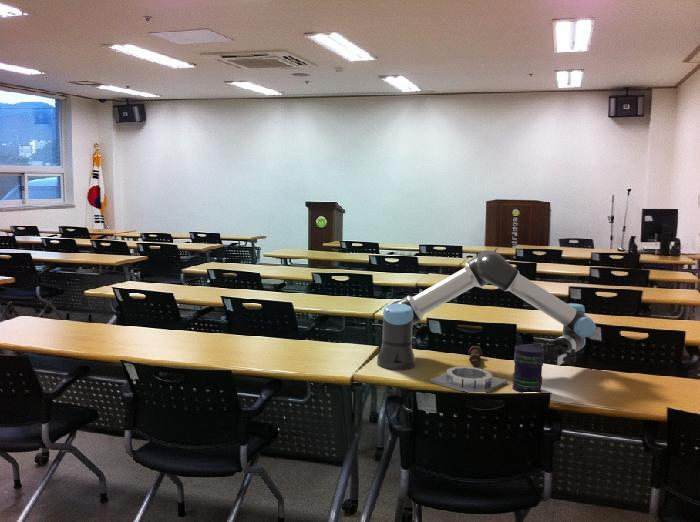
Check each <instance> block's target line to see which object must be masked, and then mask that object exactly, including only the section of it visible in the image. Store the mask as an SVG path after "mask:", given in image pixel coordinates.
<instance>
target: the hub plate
mask: <svg viewBox="0 0 700 522" xmlns="http://www.w3.org/2000/svg"><path fill="white" fill-rule="evenodd" d="M429 383H430V384H434V385H436V386H441V387H445V388H448V389H452V390H456V391H459V392H462V391H465V392H488V393H490V392H492V391H494V390H496V389H498V388H501V387H502V386H504V385H506V384H507V383H508V380H507V379H503V378H499V377H496V376H493V374H492V372H490V371H487V370H486V369H482V368H479V367H475V366H452V367H450V368H447V369H446V372H445V373H442V374H440V375H437V376H435V377H432V378H429ZM465 392H464V393H465Z"/></svg>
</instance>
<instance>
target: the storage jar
mask: <svg viewBox="0 0 700 522" xmlns="http://www.w3.org/2000/svg"><path fill="white" fill-rule="evenodd" d="M543 352H544V349H543V348H541V347H538V346H534V345H524V344H517V345H515V346H514V355H513V357H514V359H513V362H514V368H513V369H514V370H513V373H512V390H513V391H515V392H518V393H520V392H540V393H541V392H542V389H541V388H542V385H543V376H542V372H543V366H544V355H545V354H544V353H543Z"/></svg>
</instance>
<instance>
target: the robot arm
mask: <svg viewBox="0 0 700 522" xmlns="http://www.w3.org/2000/svg"><path fill="white" fill-rule="evenodd" d="M464 264H465V265H464V267H463V268H462V269H459V270H458V271H456V272H454V273H453V274H451V275H449V276H448V277H446V278H444V279H443V280H440V281H438V282H437V283H435V284H433V285H432V286H430V287H428V288H427V289H424V290H422V291H421V292H419V293H417V294H415V295H414V296H411V295H407V296H405V297H403V298H401V299H400V300H395V301H393V302H391V303H390V304H386V305H385V306H384V308H383V311H382V342H381V343H382V344H381V347H380V350H379V353H378V355H377V358H376V364H377V365H378V366H379V367H381V366H382V367H381V368H384V367H386V368H385V369H388V368H390V369H389V370H397V369H402V370H409V369H413V368H414V367H416V358H415V353H414V350H413V342H412V340H413V326H414V325H416V324H418V323H419V322H421V321H423V319H424V318H423V317H424V315H426V314H427V313H429V312H431V311H433V310H435V309H437V308H438V307H441V306H442V305H444V304H446V303H448V302H450V301H451V300H453V299H455V298H456V297H459V296H460V295H461V294H464V293H466V292H468V291H469V290H471V289H472V288H474V287H477V288H482V287H484V286H486V285H488V284H491V285H493V286H494V287H497V288H498V289H500V290H502V291H504V292H510V293H511V294H513V295H514V296H517V297H518V298H519V299H521V300H523V301H524V302H526V303H527V304H530V306H532V307H534V308H535V309H537V310H538V311H541V312H542V313H544V314H545V315H547V316H548V317H550V318H552V319H554V320H555V321H557V322H558V323H560V324H561V325H563V326H562V336H559V337H557V338H554V339H553V340H552V341H551V342H550V343H549V344H548V343H547V344H546V343H545V344H544V342H538V343H527V344H523V345H534V346H538V347H541V348H543V349H544V352H543V353H544V355H553V356H554V357H555V358H557V362H556V364H557V366H560V365H562V364H564V363H567V362H571V361H572V362H573V363H577V354H576V352H579V351H581V350H582V349H583V348H584V347H585V345H586V338H589V337H591V336H593V335H594V333H595V332H596V327H597V326H596V323H595V321H594V320H593V318H591V317H589V316H587V315H586V314H585V313H586V310H585V305H583V304H581V303H580V304H579V303H574V302H573V303H572V302H570V303H567V302H565V301H563V300H561V299H560V298H558V297H557V296H555V295H553V294H552V293H551V292H549V291H547V290H545V288H542V287H541V286H539V285H538V284H536V283H535V282H533V281H532V280H530V279H528V278H527V277H526V276H523V275H522V274H520V271H519V270H518V268H516V267H515V266H513V265H512V264H510V262H508V261H507V260H506V259H505V257H503V256H502V255H501V254H499V252H497V251H494V250H489V249H488V250H483V251H481V252H479V253H478V254H476V256H475V257H473V258H472V259H469V260H468V261H467V262H465V263H464Z"/></svg>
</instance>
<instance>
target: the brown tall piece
mask: <svg viewBox="0 0 700 522" xmlns="http://www.w3.org/2000/svg"><path fill="white" fill-rule="evenodd" d="M467 353H468V355H469V358H468V360H469V362H470V364H471V365H472V367H478V366H479V365H480V363H481V362H482V358H481V356H482V355H483V351H482V348H481V347H480V346H477V345H472V346H471V347H470V348H469V350H468V352H467Z"/></svg>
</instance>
